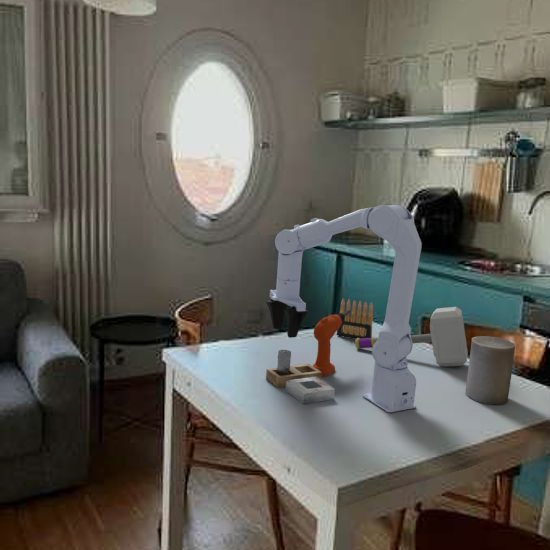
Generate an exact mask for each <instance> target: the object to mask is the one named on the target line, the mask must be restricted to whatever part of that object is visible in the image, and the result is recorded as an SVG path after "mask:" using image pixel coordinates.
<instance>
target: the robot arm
mask: <svg viewBox="0 0 550 550" xmlns="http://www.w3.org/2000/svg"><path fill="white" fill-rule="evenodd" d="M414 217H415V216H414V215H413V214H412V213H411V212H410V210H408V209H407V208H406V207H405V206H403V205H401V204H397V203H396V204H392V205H387V204H386V205H385V204H380V205H377V206H374V207H373V206H372V207H366V208H362V209H358V210H355V211H353V212H351V213H348V214H345V215H342V216H340V217H337V218H334V219H332V220H330V221H327V220H325V219H323V218H318V217H314V218H311V219H310V222H308V223H305V224H301V225H300V224H295V225H294V226H293V229H282V230H281V231H279V232H277V234H276V237H275V239H274V244H275V245H274V246H275V248H276V250H277V251H278V258H277V271H276V273H277V274H276V286H275V289H269V298H270V299H267V300H266V302H265V303H266V305H267V307H268V309H269V313H270V317H271V323H272V324H271V325H272V328H273V329H275V330H276V329H282V328H283V324H284V317H285V319H286V324H287V326H286V327H287V328H286V332H287V334H286V335H287V337H288V338H290V339H291V338H297V336H298V334H299V330H300V327H301V325H302V323H303V321H304V319H305V317H306V316H307V315H308V312H309V311H308V310H307V307H306V306H307V303H306V302H304V301H303V299H302V298H301V297H300V290H301V289H300V288H301V273H302V261H303V253H304V251H305V250H308V249H312V248H314V247H318V246H321V245H323V244H328V243H329V242H331V240H332V237H333V235H337V234H340V233H344V232H346V231H350V230H354V229H358V228H362V229H365V230H371V231H372V232H373V233H374V234H376V235H377V236H378V237H380V238H382V239H383V240H385V241H386V242H387V243H388V244H389V246H391V248H392V249H393V250H394V251H395V255H394V260H393V261H394V262H393V267H392V274H391V280H390V285H389V293H388V298H387V302H386V303H387V304H386V310H385V317H384V322H383V324H382V326H381V328H380V330H379V332H378V337H377V338H378V339H377V341H376V342H375V343H374V345H373V347H371V348H372V349H371V354H372V357H373V360H374V366H373V373H372V374H373V377H372V385H371V392H368V393H364V394H363V395H362V397H363V398H365V399H367V401H369V402H371V403H373V404H374V405H376V406H378V407H379V408H380V409H382V410H384V411H386V412H387V413H395V412H401V411H405V410H410V409H416V408H417V404H415V397H416V389H417V378H416V376H415V374H413V373H412V372H411V371H410V369H409V366H408V365H409V364H408V363H409V362H408V359H407V356H409V355H410V354H411V353H412V351H413V345H414V343H412V340H411V334H412V327H411V325H410V324H409V323H410V316H411V312H412V311H411V310H412V305H413V298H414V292H415V289H416V281H417V277H418V271H419V264H420V258H421V254H422V253H421V252H422V240H421V238H420V236H419V233H418V231H417V226H416V225H415V218H414ZM288 306H290V307H291V308H287V307H288Z"/></svg>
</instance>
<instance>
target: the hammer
mask: <svg viewBox="0 0 550 550" xmlns="http://www.w3.org/2000/svg"><path fill="white" fill-rule="evenodd" d="M429 320H430V323H429V330H430V333H425V334H413V335H411V340H412V343H413V344H424V343H428V344H429V343H431V344H432V345H431V346H432V352H433V356H434V358H435V361H436V364H437V365H439V366H441V367H442V368H443V367H445V368H446V367H459V366H460V367H461V366H464V365H465V363H467V360H468V353H469V352H468V347H467V346H468V345H467V338H466V337H467V336H466V332H465V331H466V330H465V323H464V316H463V311H462V309H460V308H459V307H457V306H451V307H448V306H447V307H441V308H439V307H438V308H436V309H434V311H433V312H432V314H431V317H430V319H429ZM377 339H378V337H374V336H372V338H362V339H360V338H357V339H355V341H354V342H355V343H354V344H355V348H356V349H357V350H361V349H367V348H368V349H371V348H373V345H374V343H375V342H376V341H377Z"/></svg>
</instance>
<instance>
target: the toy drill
mask: <svg viewBox="0 0 550 550" xmlns="http://www.w3.org/2000/svg"><path fill="white" fill-rule="evenodd" d="M349 313H350V314H351V309H350V310H347V311H346V310H345V312H344V313H343V314H342V313H340V312H339V313H336V314H329V315H328V316H326V317H323V318H321V319H320V320H319V321H318V322H317V324H316V325H314V326H315V327H314V329H313V336H314V338H315V339H316V341H317V355H316V358H315V359H316V360H315V362H314V363H313V364H312V366H313V367H315V368H316V369H318V370H319V371H321V372H322V377H326V376H329V374H330V375H332V374H333V373H334V372H335V370H336V366H335V365H334V364H333V363H332V362H331V339H333V337H334V335H335V334H337V330H338V329H339V328H340V326H341V324H342V322H343V321H344V320H345V316H346V315H348V314H349ZM331 373H332V374H331Z"/></svg>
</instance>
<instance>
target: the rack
mask: <svg viewBox="0 0 550 550" xmlns="http://www.w3.org/2000/svg"><path fill="white" fill-rule="evenodd" d="M265 373H266V374H265V379H266V380H267V381H268V380H269V381H268V382H270V383H271V384H272V383H273V384H272V385H273V386H275V387H276V386H277V387H279V388H286V387H285V386H286V381H287V380H294V379H301V378H309V377H317V378H319V379H320V380H322V377H323V376H322V372H321V371H319V370H318V369H316V368H315V367H313V364H312V365H311V364H310V363H306V364H298V365H290V374H289V375H284V376H280V375H278V374H277V367H274V368H266V371H265ZM277 387H276V388H277Z"/></svg>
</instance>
